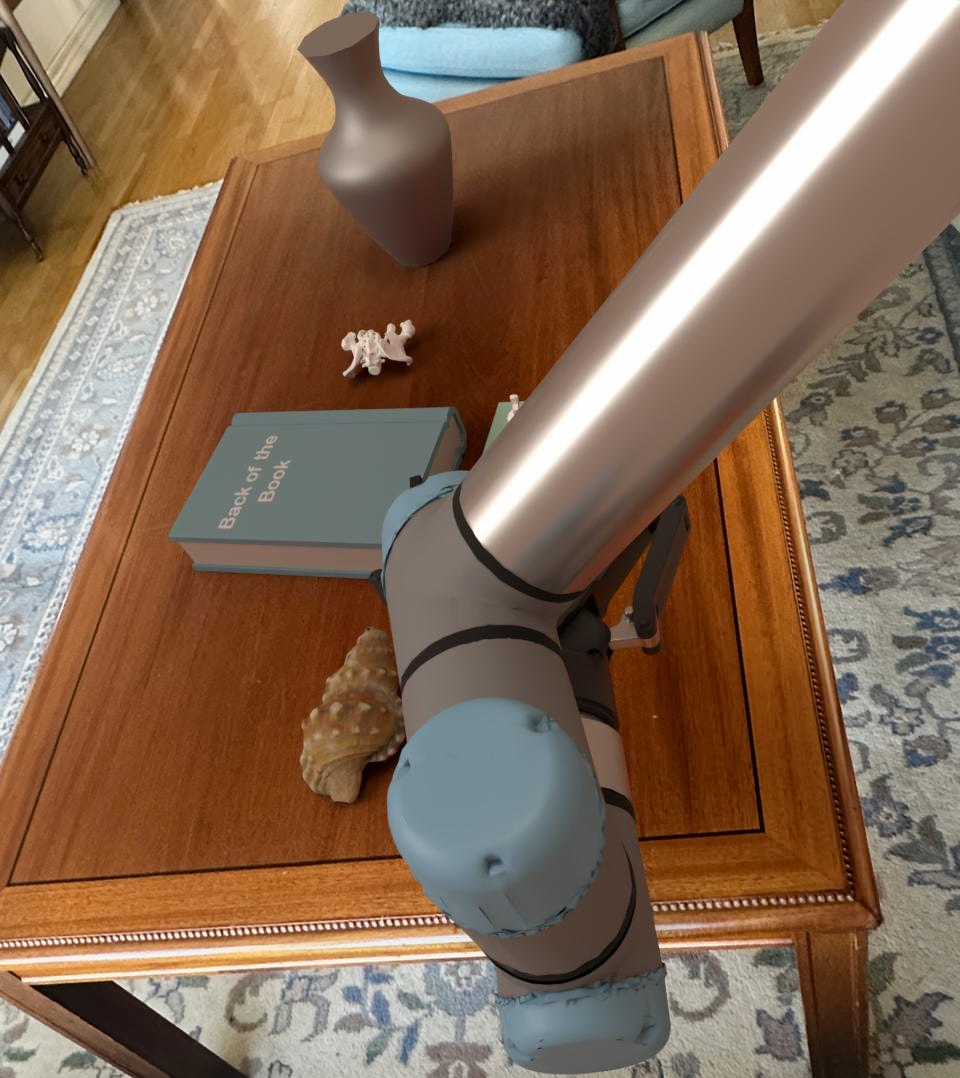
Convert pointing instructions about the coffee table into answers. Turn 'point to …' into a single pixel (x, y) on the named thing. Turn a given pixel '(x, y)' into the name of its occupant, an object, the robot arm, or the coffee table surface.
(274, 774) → the coffee table surface
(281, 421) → the book
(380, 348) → the pelvis model
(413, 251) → the vase
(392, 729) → the seashell
